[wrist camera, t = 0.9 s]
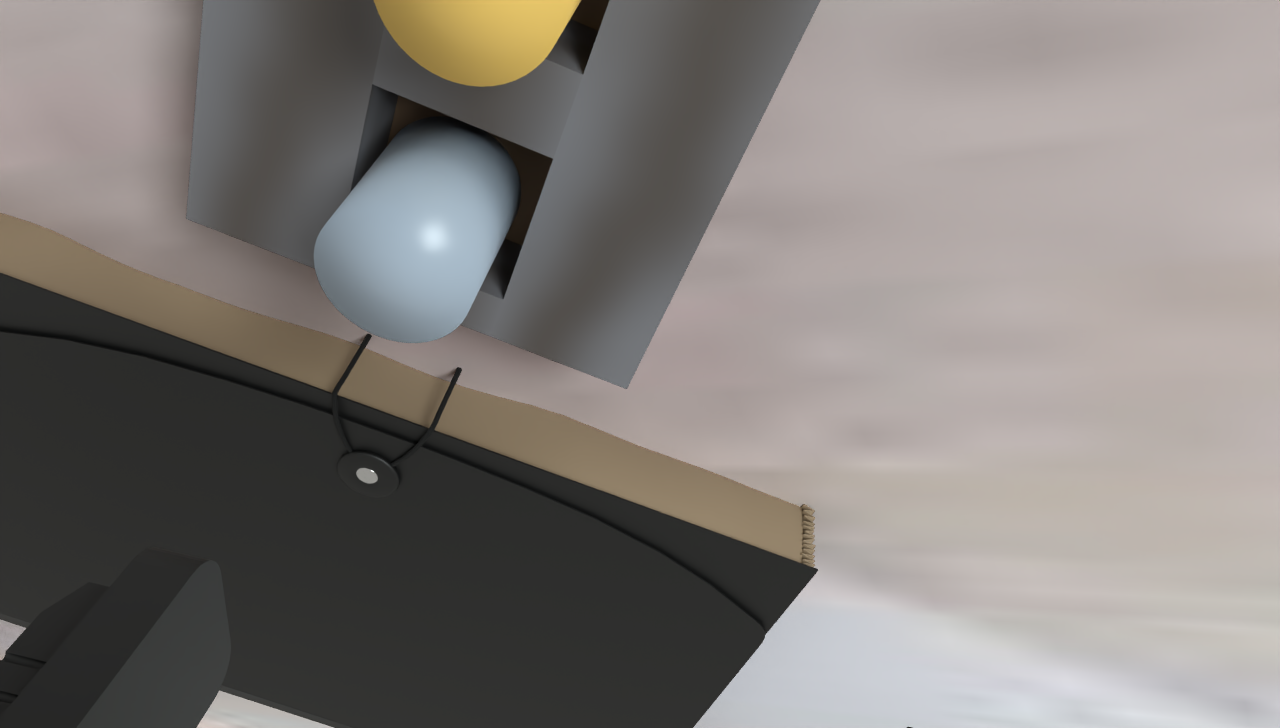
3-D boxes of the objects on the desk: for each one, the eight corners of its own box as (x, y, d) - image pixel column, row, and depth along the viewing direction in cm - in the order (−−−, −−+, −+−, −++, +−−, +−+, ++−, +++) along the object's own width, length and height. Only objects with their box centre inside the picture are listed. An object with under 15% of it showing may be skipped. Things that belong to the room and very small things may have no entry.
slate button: (373, 212, 29) (303, 308, 25) (399, 93, 26) (327, 178, 22) (500, 262, 29) (451, 364, 25) (538, 150, 27) (490, 244, 23)
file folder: (820, 575, 35) (607, 837, 50) (821, 492, 38) (620, 762, 53) (-112, 238, 31) (-36, 630, 46) (-26, 177, 34) (19, 563, 50)
